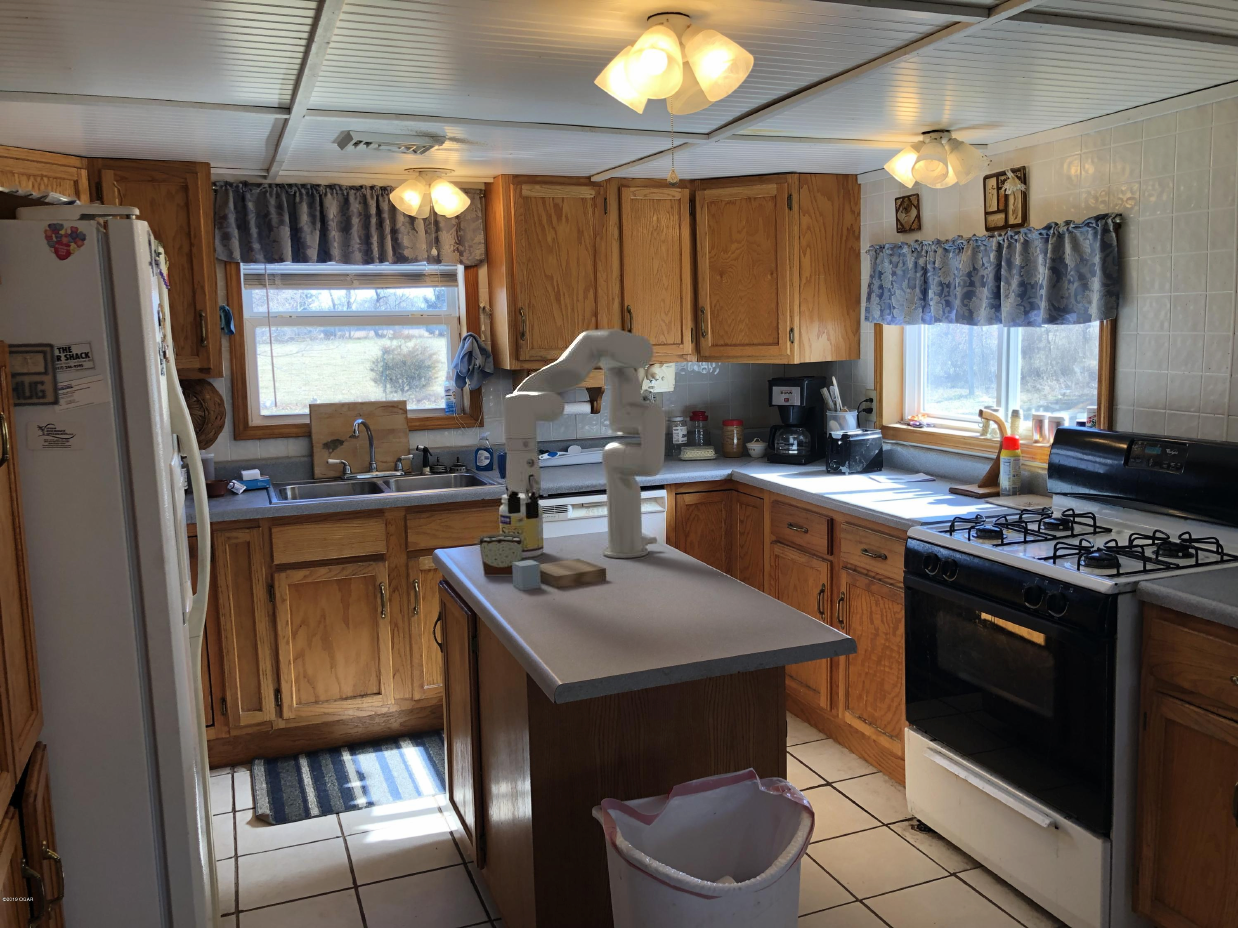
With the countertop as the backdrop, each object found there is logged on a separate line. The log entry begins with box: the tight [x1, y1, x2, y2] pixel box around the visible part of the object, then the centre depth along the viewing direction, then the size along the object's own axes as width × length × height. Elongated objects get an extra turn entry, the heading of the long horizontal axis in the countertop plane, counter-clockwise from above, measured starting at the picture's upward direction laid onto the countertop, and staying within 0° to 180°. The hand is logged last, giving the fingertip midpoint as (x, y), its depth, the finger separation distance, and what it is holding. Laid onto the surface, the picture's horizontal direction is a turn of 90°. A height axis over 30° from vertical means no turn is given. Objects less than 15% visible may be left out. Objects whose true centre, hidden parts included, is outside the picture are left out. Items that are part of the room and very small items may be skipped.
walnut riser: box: [540, 558, 607, 589], centre depth 249 cm, size 14×14×3 cm
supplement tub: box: [498, 493, 545, 559], centre depth 279 cm, size 12×12×17 cm
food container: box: [476, 532, 525, 577], centre depth 257 cm, size 12×6×10 cm, turn 84°
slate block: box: [512, 559, 542, 591], centre depth 242 cm, size 5×5×6 cm
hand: (523, 515), depth 239 cm, fingers open, 9 cm apart
